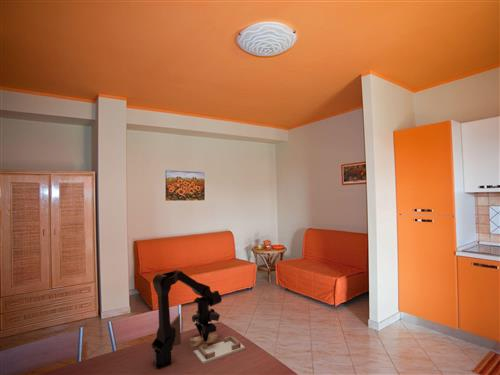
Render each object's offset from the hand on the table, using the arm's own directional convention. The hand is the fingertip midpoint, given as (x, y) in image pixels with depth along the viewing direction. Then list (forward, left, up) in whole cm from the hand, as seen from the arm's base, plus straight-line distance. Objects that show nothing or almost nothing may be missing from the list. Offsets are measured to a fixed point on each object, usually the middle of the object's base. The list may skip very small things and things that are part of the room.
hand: (204, 339), depth 151 cm
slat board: (+3, -12, -1) cm, 12 cm away
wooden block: (-15, +9, -2) cm, 18 cm away
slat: (0, 0, -2) cm, 2 cm away
